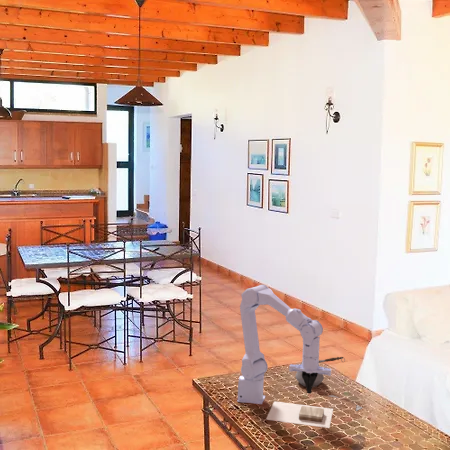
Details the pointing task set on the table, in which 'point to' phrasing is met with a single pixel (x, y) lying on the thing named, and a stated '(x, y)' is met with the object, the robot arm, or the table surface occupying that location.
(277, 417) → the mat
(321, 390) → the table surface
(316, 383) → the coffee pot
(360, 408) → the handheld gaming device
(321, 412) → the tile
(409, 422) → the table surface
